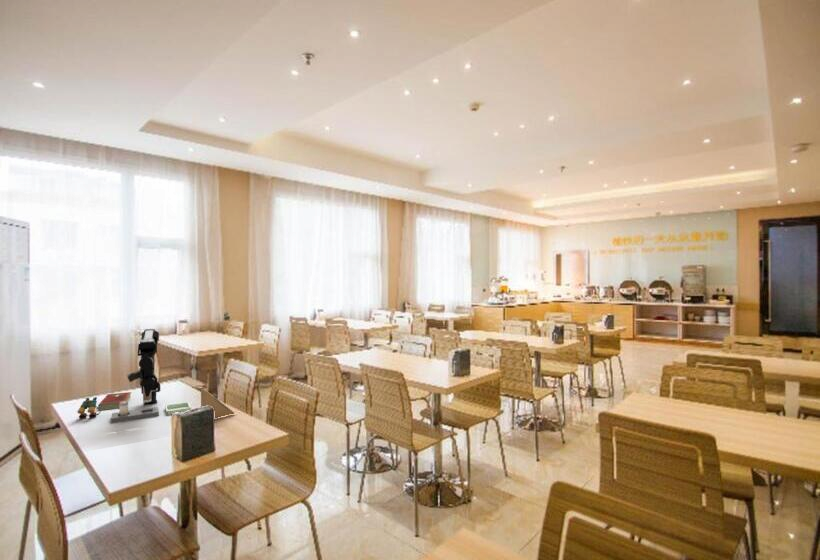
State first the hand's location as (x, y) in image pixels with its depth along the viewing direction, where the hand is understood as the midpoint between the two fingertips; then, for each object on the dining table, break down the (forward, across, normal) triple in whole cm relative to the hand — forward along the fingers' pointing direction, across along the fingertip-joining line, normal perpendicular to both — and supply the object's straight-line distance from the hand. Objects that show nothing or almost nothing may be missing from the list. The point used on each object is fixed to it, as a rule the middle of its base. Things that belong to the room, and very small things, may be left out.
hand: (147, 395), depth 218 cm
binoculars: (+11, -11, -25) cm, 29 cm away
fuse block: (+10, 0, -5) cm, 12 cm away
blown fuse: (+3, 0, 0) cm, 3 cm away
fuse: (+10, 0, -10) cm, 14 cm away
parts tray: (+10, 0, +14) cm, 17 cm away
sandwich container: (+11, +20, +31) cm, 39 cm away
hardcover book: (+11, -34, -15) cm, 39 cm away
